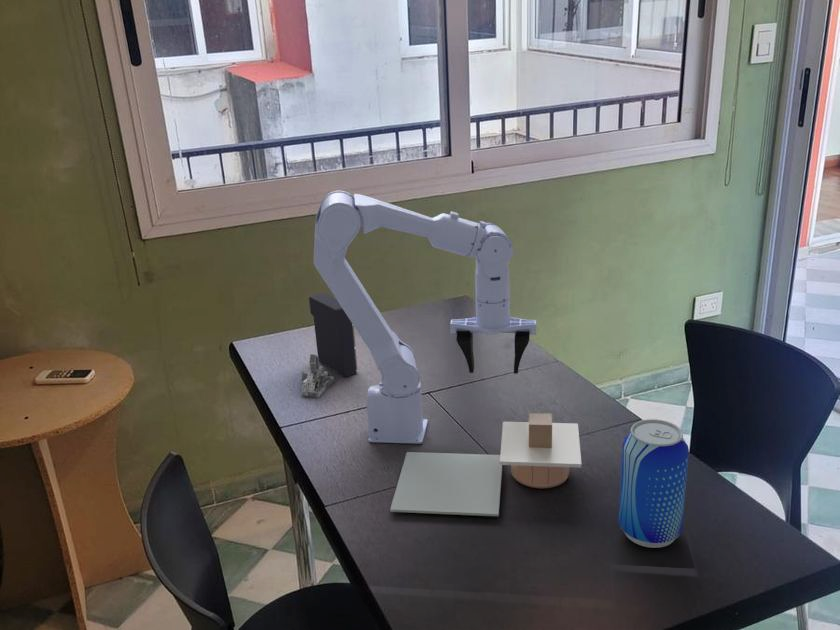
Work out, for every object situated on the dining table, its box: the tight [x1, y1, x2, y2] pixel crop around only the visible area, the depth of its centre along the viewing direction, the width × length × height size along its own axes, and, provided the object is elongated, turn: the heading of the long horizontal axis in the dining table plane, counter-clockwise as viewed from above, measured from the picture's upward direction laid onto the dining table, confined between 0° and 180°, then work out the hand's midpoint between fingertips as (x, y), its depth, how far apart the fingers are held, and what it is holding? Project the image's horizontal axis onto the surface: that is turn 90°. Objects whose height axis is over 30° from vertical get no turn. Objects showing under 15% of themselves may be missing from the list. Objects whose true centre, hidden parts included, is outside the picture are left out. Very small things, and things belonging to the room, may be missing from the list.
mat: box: [389, 451, 503, 517], centre depth 121 cm, size 16×16×1 cm
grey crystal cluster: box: [300, 353, 335, 398], centre depth 155 cm, size 9×9×8 cm
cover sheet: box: [499, 412, 583, 468], centre depth 120 cm, size 12×12×5 cm
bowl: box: [510, 465, 570, 489], centre depth 122 cm, size 9×9×5 cm
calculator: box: [308, 292, 358, 378], centre depth 161 cm, size 11×4×15 cm, turn 37°
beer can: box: [618, 418, 690, 549], centre depth 105 cm, size 8×8×16 cm
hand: (493, 370), depth 135 cm, fingers open, 7 cm apart
